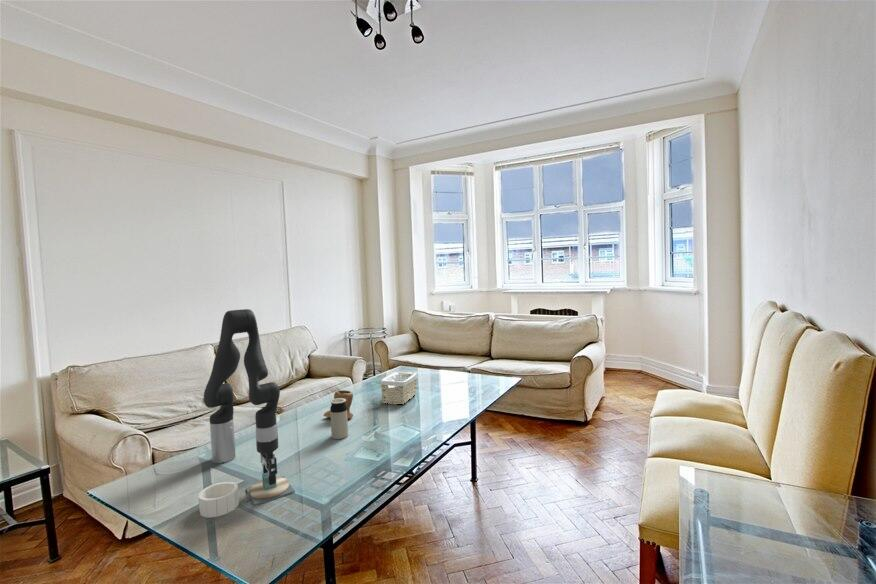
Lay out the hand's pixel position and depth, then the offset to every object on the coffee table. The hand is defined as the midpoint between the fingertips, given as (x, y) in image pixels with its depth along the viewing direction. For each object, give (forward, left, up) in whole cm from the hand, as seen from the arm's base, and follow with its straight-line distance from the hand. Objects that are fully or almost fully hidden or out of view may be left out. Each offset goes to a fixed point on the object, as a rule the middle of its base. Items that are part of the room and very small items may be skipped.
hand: (269, 479), depth 157 cm
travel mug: (-32, +41, -5) cm, 52 cm away
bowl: (0, -17, -4) cm, 18 cm away
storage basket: (-63, +94, -5) cm, 113 cm away
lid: (0, 0, -4) cm, 4 cm away
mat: (0, 0, -4) cm, 4 cm away
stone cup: (-57, +52, -5) cm, 77 cm away
